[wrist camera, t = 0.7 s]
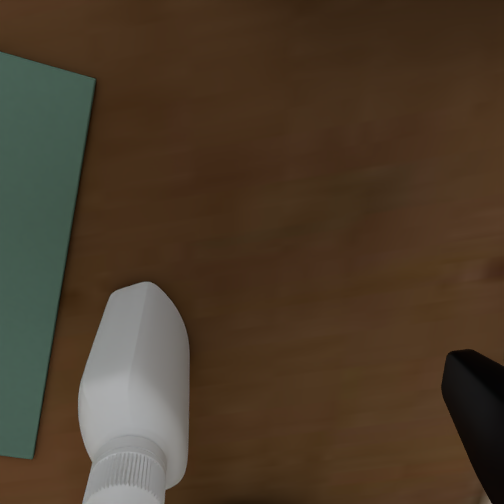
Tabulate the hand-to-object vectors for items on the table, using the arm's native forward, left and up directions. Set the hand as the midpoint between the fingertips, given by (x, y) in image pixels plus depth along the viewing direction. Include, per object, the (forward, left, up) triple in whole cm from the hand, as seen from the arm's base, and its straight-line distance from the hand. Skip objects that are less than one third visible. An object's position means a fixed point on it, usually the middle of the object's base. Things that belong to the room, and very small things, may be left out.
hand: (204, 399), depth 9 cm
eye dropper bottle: (-7, +1, -15) cm, 16 cm away
